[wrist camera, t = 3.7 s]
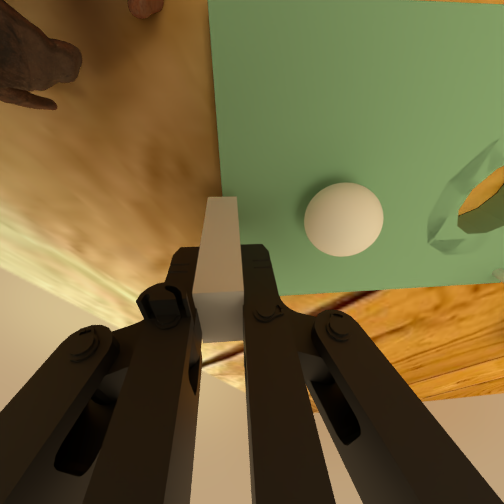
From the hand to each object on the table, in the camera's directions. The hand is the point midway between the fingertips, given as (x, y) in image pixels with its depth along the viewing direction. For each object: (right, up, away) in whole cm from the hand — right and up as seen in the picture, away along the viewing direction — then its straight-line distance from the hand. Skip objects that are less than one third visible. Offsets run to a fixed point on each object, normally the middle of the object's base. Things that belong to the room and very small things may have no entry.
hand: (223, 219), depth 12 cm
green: (+12, +3, +4) cm, 13 cm away
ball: (+6, 0, 0) cm, 7 cm away
